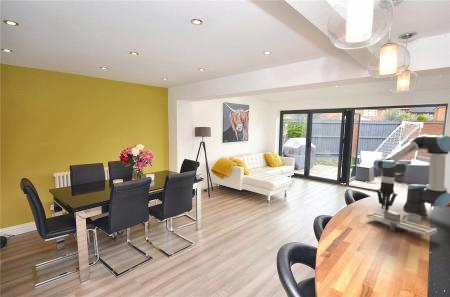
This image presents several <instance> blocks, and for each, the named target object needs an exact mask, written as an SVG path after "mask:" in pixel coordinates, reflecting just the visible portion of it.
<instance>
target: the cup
mask: <svg viewBox="0 0 450 297" xmlns="http://www.w3.org/2000/svg"><path fill="white" fill-rule="evenodd" d="M406 217H407V218H406ZM401 219H405V220H407V222H411V223H414V224H418V225H421V221H422V215H417V214H413V213H409V212H407V214H403V215H402V218H401Z"/></svg>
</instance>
